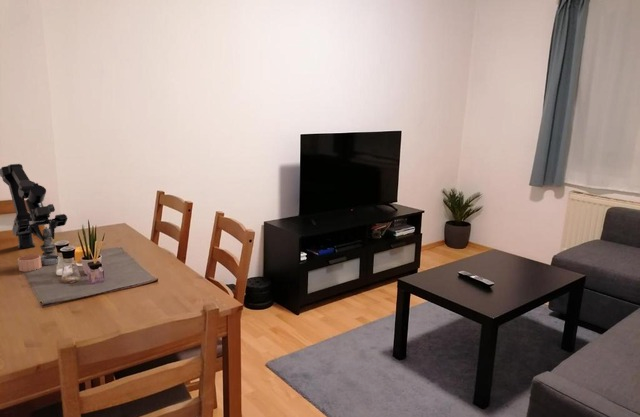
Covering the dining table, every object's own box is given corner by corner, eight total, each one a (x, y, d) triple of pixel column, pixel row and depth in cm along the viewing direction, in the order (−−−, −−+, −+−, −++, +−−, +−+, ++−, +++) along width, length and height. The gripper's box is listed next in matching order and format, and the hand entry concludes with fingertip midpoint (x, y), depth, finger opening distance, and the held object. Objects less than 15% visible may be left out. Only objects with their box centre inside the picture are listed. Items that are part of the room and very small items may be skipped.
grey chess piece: (59, 251, 198) (56, 224, 195) (53, 255, 192) (50, 228, 189) (44, 251, 197) (41, 224, 194) (38, 256, 191) (35, 228, 188)
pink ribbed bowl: (18, 267, 188) (17, 256, 187) (40, 263, 193) (39, 253, 192) (19, 272, 182) (18, 262, 181) (42, 269, 187) (41, 258, 186)
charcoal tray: (36, 261, 195) (36, 257, 194) (56, 257, 200) (56, 253, 200) (43, 266, 190) (42, 262, 189) (63, 261, 195) (63, 257, 195)
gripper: (14, 201, 185) (26, 233, 180) (63, 195, 198) (76, 225, 194) (10, 217, 192) (22, 248, 187) (58, 210, 205) (70, 239, 201)
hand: (48, 239), depth 192 cm, fingers closed on grey chess piece, 4 cm apart
